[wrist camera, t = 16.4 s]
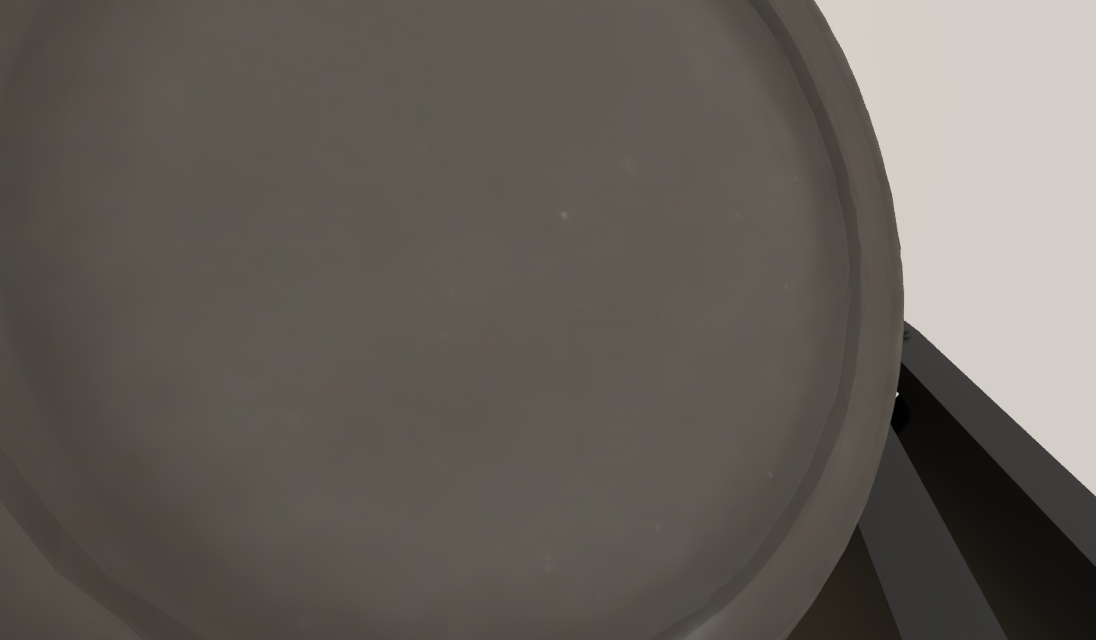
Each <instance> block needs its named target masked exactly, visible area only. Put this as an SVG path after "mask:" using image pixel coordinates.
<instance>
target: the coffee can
mask: <svg viewBox="0 0 1096 640" xmlns="http://www.w3.org/2000/svg"><path fill="white" fill-rule="evenodd" d="M900 249H901V247H900V242H899V237H898V231H897V225H896V218H895V212H894V206H893V198H892V193H891V190H890V186H889V182H888V179H887V175H886V171H885V167H884V162H883V158H882V155H881V151H880V148H879V144H878V141H877V138H876V135H875V132H874V129H873V126H872V123H871V119H870V116H869V113H868V110H867V109H866V106H865V104H864V101H863V98H862V95H861V92H860V89H859V87H858V84H857V82H856V79H855V77H854V75H853V73H852V70H851V68H850V66H849V64H848V61H847V59H846V57H845V55H844V52H843V50H842V48H841V47H840V45H839V43H838V41H837V40H836V38H835V36H834V34H833V33H832V31H831V29H830V27H829V25H828V23H827V21H826V19H825V17H824V16H823V14H822V13H821V11H820V9H819V7H818V6H817V4H816V3H815V1H814V0H0V640H785V639H786V638H787V637H788V636H789V634H790V633H791V632H792V630H793V629H794V628H795V626H796V625H797V624H798V622H799V621H800V620H801V618H802V617H803V616H804V614H805V613H806V612H807V610H808V609H809V608H810V606H811V605H812V604H813V602H814V601H815V599H816V597H817V596H818V594H819V592H820V591H821V589H822V587H823V586H824V584H825V582H826V581H827V579H828V577H829V576H830V574H831V572H832V571H833V569H834V567H835V566H836V564H837V562H838V561H839V559H840V557H841V556H842V554H843V553H844V551H845V549H846V547H847V545H848V543H849V540H850V538H851V536H852V534H853V532H854V530H855V527H856V525H857V523H858V521H859V519H860V516H861V514H862V512H863V510H864V508H865V506H866V503H867V500H868V497H869V494H870V491H871V488H872V486H873V483H874V480H875V477H876V474H877V471H878V467H879V464H880V460H881V457H882V453H883V450H884V446H885V443H886V439H887V435H888V431H889V426H890V422H891V418H892V413H893V409H894V404H895V398H896V392H897V386H898V380H899V373H900V364H901V354H902V344H903V333H904V289H903V272H902V262H901V257H900Z"/></svg>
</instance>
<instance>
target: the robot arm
mask: <svg viewBox="0 0 1096 640" xmlns="http://www.w3.org/2000/svg"><path fill="white" fill-rule="evenodd" d="M897 392H898V393H899V395H898V396H897V397H896V398H895V404H894V409H893V413H892V418H891V422H890V426H889V431H888V435H887V439H886V443H885V446H884V450H883V453H882V457H881V460H880V464H879V467H878V471H877V474H876V477H875V480H874V483H873V486H872V488H871V491H870V494H869V497H868V500H867V503H866V506H865V508H864V510H863V512H862V514H861V516H860V519H859V521H858V523H857V525H856V527H855V530H854V532H853V534H852V536H851V538H850V540H849V543H848V545H847V547H846V549H845V551H844V553H843V554H842V556H841V557H840V559H839V561H838V562H837V564H836V566H835V567H834V569H833V571H832V572H831V574H830V576H829V577H828V579H827V581H826V582H825V584H824V586H823V587H822V589H821V591H820V592H819V594H818V596H817V597H816V599H815V601H814V602H813V604H812V605H811V606H810V608H809V609H808V610H807V612H806V613H805V614H804V616H803V617H802V618H801V620H800V621H799V622H798V624H797V625H796V626H795V628H794V629H793V630H792V632H791V633H790V634H789V636H788V637H787V638H786V639H785V640H1096V496H1094V494H1092V493H1091V492H1090V491H1089V490H1088V489H1087V488H1086V487H1085V486H1084V485H1083V484H1082V483H1081V482H1080V481H1078V480H1077V479H1076V478H1075V477H1074V476H1073V475H1072V474H1071V473H1070V472H1069V471H1068V470H1067V469H1066V468H1065V467H1064V466H1062V465H1061V464H1060V463H1059V462H1058V461H1057V460H1056V459H1055V458H1054V457H1053V456H1052V455H1051V454H1050V453H1048V452H1047V451H1046V450H1045V449H1044V448H1043V447H1042V446H1041V445H1040V444H1039V443H1038V442H1037V441H1036V440H1035V439H1033V438H1032V437H1031V436H1030V435H1029V434H1028V433H1027V432H1026V431H1025V430H1024V429H1023V428H1022V427H1021V426H1020V425H1018V424H1017V423H1016V422H1015V421H1014V420H1013V419H1012V418H1011V417H1010V416H1009V415H1008V414H1007V413H1006V412H1005V411H1003V410H1002V409H1001V408H1000V407H999V406H998V405H997V404H996V403H995V402H994V401H993V400H992V399H991V398H990V397H988V396H987V395H986V394H985V393H984V392H983V391H982V390H981V389H980V388H979V387H978V386H977V385H975V384H974V383H973V382H972V381H971V380H970V379H969V378H968V377H967V376H966V375H965V374H964V373H963V372H962V371H960V369H958V368H957V367H956V366H955V365H954V364H953V363H952V362H951V361H950V360H949V359H948V358H947V357H946V356H945V355H943V354H942V353H941V352H940V351H939V350H938V349H937V348H936V347H935V346H934V345H933V344H932V343H931V342H930V341H928V340H927V339H926V338H925V337H924V336H923V335H922V334H921V333H920V332H919V331H918V330H916V329H915V328H914V327H912V326H911V325H910V324H908V323H906V321H904V333H903V344H902V354H901V364H900V373H899V380H898V386H897Z"/></svg>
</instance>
